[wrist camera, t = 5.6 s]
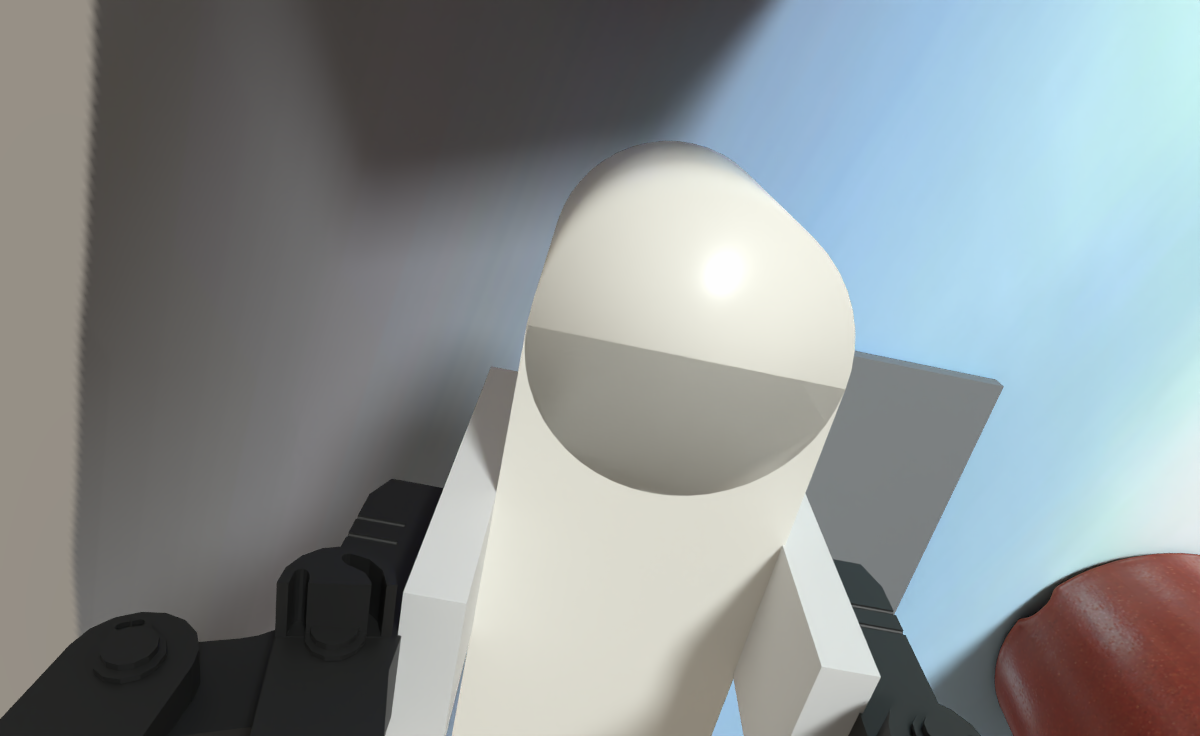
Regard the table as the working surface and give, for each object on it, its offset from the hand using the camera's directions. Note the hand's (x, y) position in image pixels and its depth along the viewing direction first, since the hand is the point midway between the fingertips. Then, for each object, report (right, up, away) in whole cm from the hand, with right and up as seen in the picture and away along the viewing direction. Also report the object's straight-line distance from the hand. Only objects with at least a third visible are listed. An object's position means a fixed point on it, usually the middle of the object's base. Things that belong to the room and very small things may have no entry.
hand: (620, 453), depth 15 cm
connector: (0, 0, +1) cm, 1 cm away
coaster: (+8, -3, +15) cm, 17 cm away
